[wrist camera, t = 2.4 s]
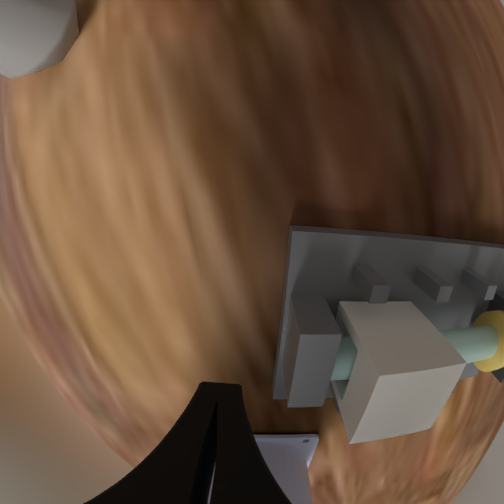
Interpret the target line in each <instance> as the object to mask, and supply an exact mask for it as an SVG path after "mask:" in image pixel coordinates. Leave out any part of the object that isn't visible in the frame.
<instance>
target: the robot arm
mask: <svg viewBox="0 0 504 504" xmlns="http://www.w3.org/2000/svg"><path fill="white" fill-rule="evenodd" d="M318 442H319V436H318V435H317V434H296V435H255V434H253V432H252V430H251V427H250V424H249V421H248V418H247V415H246V411H245V407H244V402H243V396H242V387H241V386H240V385H239V384H226V383H213V382H201V383H200V384H199V386H198V388H197V390H196V392H195V394H194V396H193V397H192V399H191V401H190V402H189V404H188V406H187V407H186V409H185V410H184V412H183V413H182V415H181V416H180V418H179V419H178V420H177V422H176V423H175V425H174V426H173V427H172V429H171V430H170V431H169V432H168V434H167V435H166V436H165V437H164V438H163V440H162V441H161V442H160V443H159V444H158V445H157V447H156V448H155V449H154V450H153V451H152V452H151V453H150V454H149V455H148V456H147V457H146V458H145V459H144V460H143V461H142V462H141V463H140V464H139V465H138V466H137V467H135V468H134V469H133V470H132V471H131V472H130V473H128V474H127V475H126V476H125V477H124V478H122V479H121V480H120V481H118V482H117V483H116V484H114V485H113V486H111V487H110V488H108V489H107V490H105V491H104V492H103V493H101V494H100V495H98V496H96V497H95V498H93V499H91V500H89V501H88V502H86V503H84V504H312V497H311V489H310V482H309V475H308V467H309V464H310V462H311V459H312V457H313V454H314V452H315V449H316V447H317V444H318Z"/></svg>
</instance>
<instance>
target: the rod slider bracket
mask: <svg viewBox="0 0 504 504" xmlns="http://www.w3.org/2000/svg"><path fill="white" fill-rule="evenodd" d="M339 301H363V302H368V303H369V304H386V303H387V301H411V302H412V303H413V304H414V305H415V306H416V307H417V308H418V309H419V310H420V311H421V312H422V313H423V315H424V316H425V317H426V318H427V319H428V320H429V321H430V322H431V323H432V324H433V325H434V326H435V327H436V328H437V329H438V331H439V332H440V333H441V334H442V335H443V336H444V337H445V338H446V339H447V340H448V342H449V343H450V344H451V345H452V346H453V347H454V348H455V349H456V351H457V352H458V353H459V354H460V355H461V356H462V357H463V359H464V360H465V361H466V362H467V363H466V366H465V368H464V370H463V372H462V374H461V376H460V378H459V380H461V379H465V378H469V377H473V376H476V375H477V374H478V372H479V369H478V368H477V367H476V366H475V365H474V363H473V362H476V361H480V360H484V359H488V358H491V357H492V356H493V355H494V354H495V353H496V351H497V348H498V343H499V338H498V333H497V331H496V329H495V328H494V327H493V326H491V325H484V326H477V327H472V326H473V324H474V322H475V320H476V319H477V318H478V317H479V316H480V315H481V314H482V313H484V312H487V311H495V310H502V311H504V245H503V244H495V243H487V242H479V241H470V240H461V239H452V238H442V237H432V236H422V235H412V234H401V233H390V232H379V231H366V230H354V229H341V228H327V227H313V226H297V225H289V234H288V246H287V257H286V267H285V278H284V288H283V298H282V307H281V316H280V325H279V334H278V343H277V351H276V359H275V367H274V375H273V383H272V393H273V399H282V400H287V407H321V406H323V404H324V400H325V398H334V401H335V405H336V408H337V412H339V411H340V409H339V406H338V403H337V399H336V396H335V393H334V390H333V386H332V383H331V380H349V379H350V376H351V372H352V369H353V366H354V363H355V359H356V356H357V352H358V350H357V348H356V346H355V344H354V342H353V340H352V338H351V336H342V333H341V331H340V329H339V327H338V324H337V322H336V316H337V311H338V306H339ZM491 372H492V373H493V374H494V376H495V377H496V378H497V379H498V380H499V381H500V383H503V382H504V367H502V368H500V369H497V370H494V371H491ZM457 384H458V383H457ZM457 384H456V385H457ZM456 385H455V387H456ZM455 387H454V389H455ZM454 389H453V391H454ZM453 391H452V393H453Z"/></svg>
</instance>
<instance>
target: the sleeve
mask: <svg viewBox="0 0 504 504" xmlns="http://www.w3.org/2000/svg"><path fill="white" fill-rule="evenodd" d="M336 322H337V324H338V327H339V329H340V331H341V333H342V336H351V338H352V340H353V342H354V344H355V346H356V348H357V350H358V352H357V356H356V359H355V363H354V366H353V369H352V372H351V376H350V379H349V380H331V383H332V386H333V390H334V393H335V396H336V399H337V403H338V406H339V409H340V413H341V416H342V420H343V423H344V426H345V430H346V433H347V437H348V440H349V444H353V443H360V442H367V441H374V440H379V439H385V438H390V437H395V436H400V435H405V434H409V433H414V432H418V431H422V430H426V429H430V428H431V426H432V425H433V423H434V422H435V420H436V418H437V417H438V415H439V414H440V412H441V410H442V409H443V407H444V405H445V403H446V402H447V400H448V398H449V396H450V395H451V393H452V391H453V389H454V387H455V385H456V384H457V382H458V380H459V378H460V376H461V374H462V372H463V370H464V368H465V366H466V363H467V362H466V361H465V360H464V359H463V357H462V356H461V355H460V354H459V353H458V352H457V351H456V349H455V348H454V347H453V346H452V345H451V344H450V343H449V342H448V340H447V339H446V338H445V337H444V336H443V335H442V334H441V333H440V332H439V331H438V329H437V328H436V327H435V326H434V325H433V324H432V323H431V322H430V321H429V320H428V319H427V318H426V317H425V316H424V315H423V313H422V312H421V311H420V310H419V309H418V308H417V307H416V306H415V305H414V304H413V303H412V302H411V301H387V303H386V304H369V303H368V302H363V301H339V306H338V311H337V316H336Z"/></svg>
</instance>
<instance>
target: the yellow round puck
mask: <svg viewBox="0 0 504 504" xmlns="http://www.w3.org/2000/svg"><path fill="white" fill-rule="evenodd" d="M484 325H491V326H493V327H494V328H495V329H496V331H497V333H498V338H499V343H498V348H497V351H496V353H495V354H494V355H493V356H492V357H491V358H488V359H484V360H480V361H476V362H473V363H474V365H475V366H476V367H477V368H478V369H479V370H481V371H483V372H490V371H494V370H497V369H500V368H502V367H504V311H502V310H495V311H487V312H484V313H482V314H481V315H480V316H479V317H478V318H477V319H476V320H475V322H474V324H473V326H472V327H477V326H484Z"/></svg>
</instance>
